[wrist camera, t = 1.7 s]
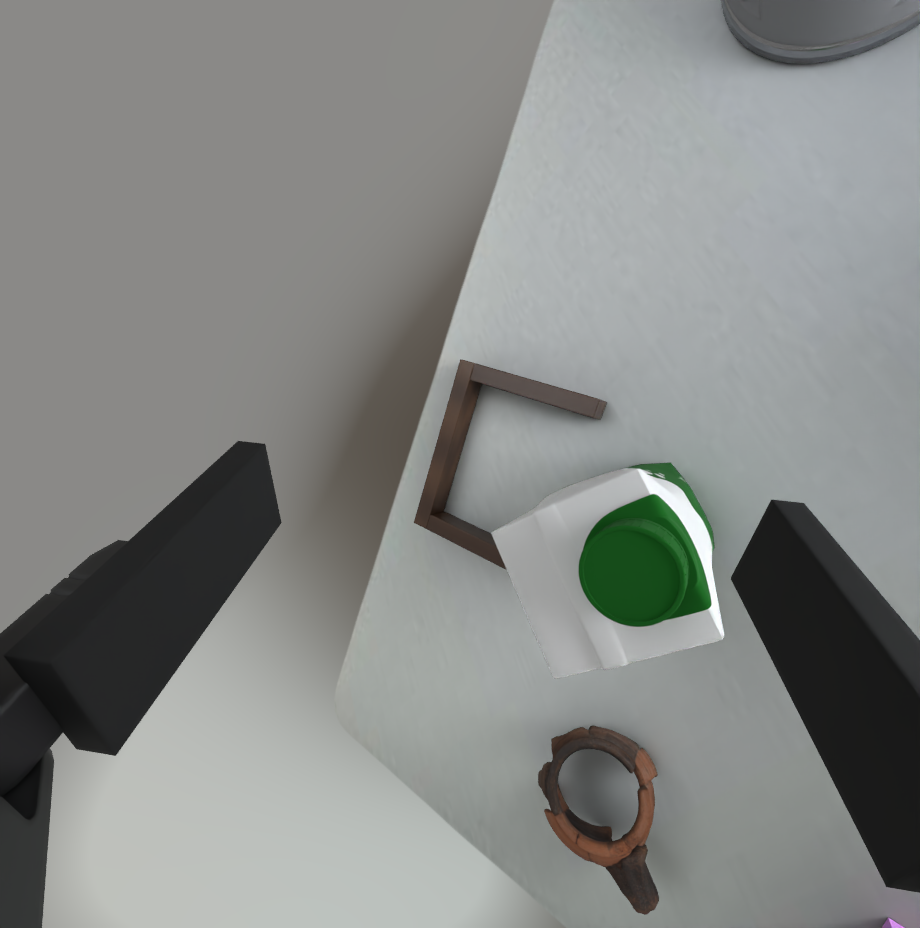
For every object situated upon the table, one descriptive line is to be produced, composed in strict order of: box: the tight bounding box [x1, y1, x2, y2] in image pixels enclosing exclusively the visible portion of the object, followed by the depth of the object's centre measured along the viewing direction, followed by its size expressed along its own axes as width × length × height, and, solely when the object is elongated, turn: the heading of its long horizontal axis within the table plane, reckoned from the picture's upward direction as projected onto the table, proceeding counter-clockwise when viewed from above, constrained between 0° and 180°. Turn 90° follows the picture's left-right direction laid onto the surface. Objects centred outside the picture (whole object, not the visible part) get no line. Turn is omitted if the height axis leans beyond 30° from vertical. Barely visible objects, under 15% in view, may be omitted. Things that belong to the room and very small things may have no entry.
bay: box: [414, 360, 607, 570], centre depth 41 cm, size 16×13×2 cm
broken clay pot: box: [538, 726, 659, 914], centre depth 36 cm, size 12×10×8 cm
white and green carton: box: [491, 463, 725, 679], centre depth 27 cm, size 9×9×20 cm
